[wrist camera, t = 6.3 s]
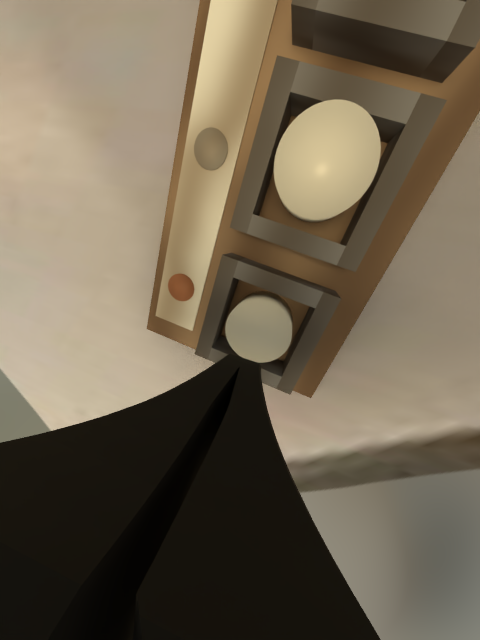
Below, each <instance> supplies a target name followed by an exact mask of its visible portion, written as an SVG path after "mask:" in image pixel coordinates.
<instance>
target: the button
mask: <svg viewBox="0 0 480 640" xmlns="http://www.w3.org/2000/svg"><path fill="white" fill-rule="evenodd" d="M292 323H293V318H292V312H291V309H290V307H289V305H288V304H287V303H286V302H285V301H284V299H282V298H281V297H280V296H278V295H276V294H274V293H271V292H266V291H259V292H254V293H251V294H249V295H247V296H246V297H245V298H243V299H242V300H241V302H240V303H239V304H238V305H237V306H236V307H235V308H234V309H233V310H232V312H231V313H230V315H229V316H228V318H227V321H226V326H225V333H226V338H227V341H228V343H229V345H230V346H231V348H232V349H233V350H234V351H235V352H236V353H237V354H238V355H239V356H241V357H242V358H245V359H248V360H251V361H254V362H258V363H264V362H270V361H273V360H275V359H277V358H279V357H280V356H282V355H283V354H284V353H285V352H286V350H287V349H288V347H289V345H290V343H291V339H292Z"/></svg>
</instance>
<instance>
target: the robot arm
mask: <svg viewBox="0 0 480 640" xmlns="http://www.w3.org/2000/svg"><path fill="white" fill-rule="evenodd" d="M0 640H380V638H379V636H378V635H377V633H376V631H375V630H374V628H373V626H372V624H371V623H370V621H369V619H368V618H367V616H366V614H365V613H364V611H363V609H362V608H361V606H360V604H359V603H358V601H357V599H356V597H355V596H354V594H353V592H352V591H351V589H350V587H349V586H348V584H347V582H346V580H345V578H344V577H343V575H342V573H341V572H340V570H339V568H338V566H337V565H336V563H335V561H334V559H333V557H332V555H331V554H330V552H329V550H328V548H327V546H326V545H325V542H324V540H323V539H322V537H321V535H320V533H319V531H318V529H317V527H316V526H315V524H314V522H313V520H312V518H311V516H310V514H309V512H308V510H307V508H306V506H305V503H304V501H303V499H302V497H301V495H300V493H299V491H298V489H297V487H296V485H295V483H294V481H293V478H292V476H291V474H290V472H289V469H288V467H287V465H286V462H285V460H284V457H283V455H282V452H281V450H280V447H279V444H278V442H277V439H276V436H275V433H274V430H273V427H272V424H271V420H270V417H269V414H268V410H267V406H266V401H265V397H264V392H263V386H262V379H261V365H260V363H258V362H254V361H251V360H248V359H245V358H242V357H239V356H236V355H233V354H228V355H226V356H225V357H224V358H222V359H221V360H219V361H218V362H217V363H215V364H214V365H212V366H211V367H209V368H208V369H206V370H204V371H203V372H201V373H200V374H198V375H196V376H195V377H193V378H191V379H190V380H188V381H186V382H184V383H182V384H180V385H179V386H177V387H175V388H173V389H171V390H169V391H167V392H165V393H163V394H160V395H158V396H156V397H154V398H151V399H149V400H147V401H144V402H142V403H139V404H137V405H134V406H131V407H128V408H126V409H123V410H120V411H117V412H114V413H111V414H109V415H106V416H103V417H99V418H96V419H93V420H89V421H86V422H83V423H79V424H76V425H72V426H68V427H65V428H61V429H57V430H54V431H50V432H46V433H42V434H38V435H33V436H29V437H24V438H20V439H16V440H11V441H6V442H2V443H0Z"/></svg>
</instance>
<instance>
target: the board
mask: <svg viewBox="0 0 480 640" xmlns="http://www.w3.org/2000/svg"><path fill="white" fill-rule="evenodd" d="M334 99H337V100H347V101H350V102H353V103H356V104H357V105H359V106H361V107H362V108H363V109H365V110H366V111H367V112H368V113H369V114H370V116H371V117H372V118H373V120H374V122H375V124H376V126H377V129H378V132H379V136H380V144H381V152H380V160H379V165H378V168H377V172H376V174H375V176H374V179H373V181H372V183H371V184H370V186H369V188H368V189H367V190H366V192H365V193H364V194H363V196H362V197H361V198H360V199H359V200H358V201H357V202H356V203H355V204H354V205H352V206H351V207H350V208H348V209H347V210H345V211H343V212H342V213H340V214H338V215H336V216H335V217H333V218H331V219H328V220H325V221H322V222H306V221H302V220H299V219H297V218H296V217H294V216H293V215H291V214H290V213H289V212H288V211H287V210H286V208H285V207H284V205H283V203H282V201H281V199H280V196H279V194H278V191H277V188H276V185H275V180H274V160H275V155H276V151H277V148H278V145H279V142H280V140H281V138H282V136H283V134H284V133H285V131H286V130H287V128H288V127H289V125H290V124H291V123H292V122H293V121H294V120H295V119H296V118H297V117H298V116H299V115H300V114H301V113H302V112H304V111H305V110H306V109H308V108H310V107H311V106H313V105H315V104H318V103H320V102H323V101H327V100H334ZM479 111H480V0H200V4H199V10H198V16H197V22H196V28H195V34H194V41H193V47H192V53H191V59H190V65H189V72H188V78H187V84H186V90H185V96H184V102H183V109H182V115H181V121H180V127H179V133H178V139H177V146H176V152H175V158H174V164H173V170H172V177H171V183H170V189H169V195H168V201H167V207H166V214H165V220H164V226H163V232H162V238H161V244H160V251H159V257H158V263H157V269H156V275H155V282H154V288H153V294H152V300H151V306H150V312H149V319H148V325H147V329H148V330H151V331H153V332H156V333H158V334H160V335H163V336H165V337H167V338H170V339H172V340H175V341H177V342H179V343H182V344H184V345H186V346H189V347H191V348H194V349H196V351H195V354H196V355H198V356H201V357H203V358H205V359H208V360H210V361H212V362H215V363H217V362H218V361H219V360H221V359H222V358H224V357H225V356H226V355H228V354H233V355H236V356H239V355H238V354H237V353H236V352H235V351H234V350H233V349H232V348H231V346H230V345H229V343H228V341H227V338H226V333H225V326H226V321H227V318H228V316H229V315H230V313H231V312H232V310H233V309H234V308H235V307H236V306H237V305H238V304H239V303H240V302H241V300H242V299H243V298H245V297H246V296H247V295H249V294H251V293H254V292H259V291H266V292H271V293H274V294H276V295H278V296H280V297H281V298H282V299H284V301H285V302H286V303H287V304H288V305H289V307H290V309H291V312H292V318H293V323H292V339H291V343H290V345H289V347H288V349H287V350H286V352H285V353H284V354H283V355H282V356H280V357H279V358H277V359H275V360H273V361H270V362H264V363H260V365H261V379H262V383H264V384H267V385H269V386H271V387H274V388H276V389H278V390H281V391H283V392H285V393H288V394H291V392H292V391H295V392H298V393H300V394H303V395H305V396H307V397H310V398H311V397H312V395H313V394H314V392H315V390H316V389H317V387H318V385H319V384H320V382H321V380H322V378H323V377H324V375H325V373H326V372H327V370H328V368H329V367H330V365H331V363H332V361H333V360H334V358H335V356H336V355H337V353H338V351H339V349H340V348H341V346H342V344H343V343H344V341H345V339H346V338H347V336H348V334H349V332H350V331H351V329H352V327H353V326H354V324H355V322H356V320H357V319H358V317H359V315H360V314H361V312H362V310H363V309H364V307H365V305H366V303H367V302H368V300H369V298H370V297H371V295H372V293H373V292H374V290H375V288H376V286H377V285H378V283H379V281H380V280H381V278H382V276H383V274H384V273H385V271H386V269H387V268H388V266H389V264H390V263H391V261H392V259H393V257H394V256H395V254H396V252H397V251H398V249H399V247H400V246H401V244H402V242H403V240H404V239H405V237H406V235H407V234H408V232H409V230H410V228H411V227H412V225H413V223H414V222H415V220H416V218H417V217H418V215H419V213H420V211H421V210H422V208H423V206H424V205H425V203H426V201H427V200H428V198H429V196H430V194H431V193H432V191H433V189H434V188H435V186H436V184H437V182H438V181H439V179H440V177H441V176H442V174H443V172H444V171H445V169H446V167H447V165H448V164H449V162H450V160H451V159H452V157H453V155H454V153H455V152H456V150H457V148H458V147H459V145H460V143H461V142H462V140H463V138H464V136H465V135H466V133H467V131H468V130H469V128H470V126H471V125H472V123H473V121H474V119H475V118H476V116H477V114H478V113H479ZM239 357H241V356H239Z"/></svg>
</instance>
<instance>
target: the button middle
mask: <svg viewBox="0 0 480 640" xmlns="http://www.w3.org/2000/svg"><path fill="white" fill-rule="evenodd" d="M380 152H381V144H380V136H379V132H378V129H377V126H376V124H375V122H374V120H373V118H372V117H371V116H370V114H369V113H368V112H367V111H366V110H365V109H363V108H362V107H361V106H359V105H357V104H356V103H353V102H350V101H347V100H337V99H334V100H327V101H323V102H320V103H318V104H315V105H313V106H311V107H310V108H308V109H306V110H305V111H304V112H302V113H301V114H300V115H299V116H298V117H297V118H296V119H295V120H294V121H293V122H292V123H291V124H290V125H289V127H288V128H287V130H286V131H285V133H284V134H283V136H282V138H281V140H280V142H279V145H278V148H277V151H276V155H275V160H274V180H275V185H276V188H277V191H278V194H279V196H280V199H281V201H282V203H283V205H284V207H285V208H286V210H287V211H288V212H289V213H290V214H291V215H293V216H294V217H296V218H297V219H299V220H302V221H306V222H322V221H325V220H328V219H331V218H333V217H335V216H336V215H338V214H340V213H342V212H343V211H345V210H347V209H348V208H350V207H351V206H352V205H354V204H355V203H356V202H357V201H358V200H359V199H360V198H361V197H362V196H363V194H364V193H365V192H366V190H367V189H368V188H369V186H370V184H371V183H372V181H373V179H374V176H375V174H376V172H377V168H378V165H379V160H380Z"/></svg>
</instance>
